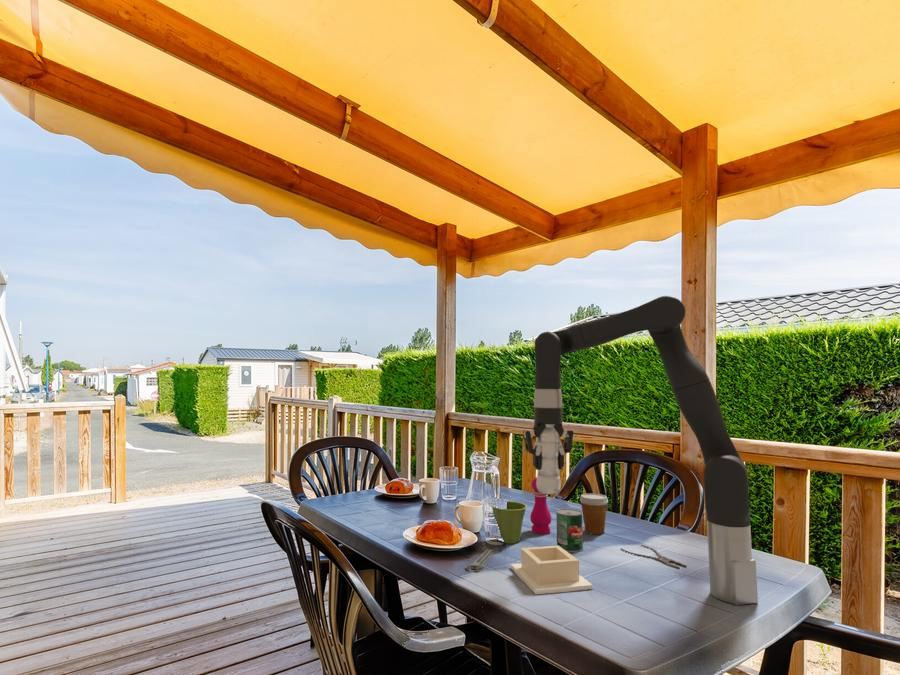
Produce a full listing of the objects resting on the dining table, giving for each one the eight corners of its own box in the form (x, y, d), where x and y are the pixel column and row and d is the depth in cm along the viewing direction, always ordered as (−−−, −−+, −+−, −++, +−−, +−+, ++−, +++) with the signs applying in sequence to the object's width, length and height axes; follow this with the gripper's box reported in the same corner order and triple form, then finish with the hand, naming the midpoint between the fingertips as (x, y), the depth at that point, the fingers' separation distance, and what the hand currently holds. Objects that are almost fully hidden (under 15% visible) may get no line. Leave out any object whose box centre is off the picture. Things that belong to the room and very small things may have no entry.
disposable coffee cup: (578, 527, 176) (578, 492, 177) (606, 528, 175) (605, 493, 176) (582, 535, 167) (581, 498, 168) (611, 536, 166) (610, 499, 167)
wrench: (464, 571, 135) (464, 567, 136) (485, 549, 154) (485, 545, 154) (481, 574, 134) (481, 569, 134) (500, 550, 152) (500, 547, 152)
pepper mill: (553, 535, 167) (552, 474, 169) (532, 534, 167) (531, 474, 169) (549, 528, 175) (548, 470, 176) (529, 528, 175) (528, 470, 177)
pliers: (636, 542, 158) (699, 560, 142) (637, 545, 158) (699, 563, 142) (618, 548, 152) (680, 567, 136) (618, 551, 152) (680, 571, 136)
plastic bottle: (565, 493, 133) (565, 418, 135) (551, 497, 128) (551, 419, 130) (545, 490, 138) (545, 417, 139) (531, 493, 133) (531, 417, 135)
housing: (592, 589, 123) (591, 563, 124) (535, 594, 120) (535, 568, 120) (561, 563, 140) (560, 541, 141) (510, 567, 137) (510, 545, 138)
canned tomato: (560, 542, 159) (559, 507, 160) (585, 546, 156) (584, 510, 157) (554, 550, 152) (553, 513, 153) (580, 554, 149) (579, 516, 150)
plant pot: (502, 548, 153) (501, 511, 155) (484, 537, 164) (484, 502, 165) (534, 543, 158) (534, 507, 159) (515, 533, 169) (514, 499, 170)
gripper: (527, 406, 130) (528, 472, 128) (578, 406, 133) (579, 471, 131) (518, 405, 137) (518, 467, 136) (566, 405, 140) (567, 466, 139)
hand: (548, 468), depth 133 cm, fingers closed on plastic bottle, 5 cm apart
